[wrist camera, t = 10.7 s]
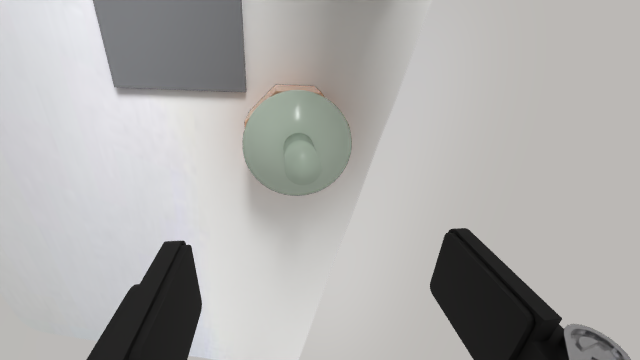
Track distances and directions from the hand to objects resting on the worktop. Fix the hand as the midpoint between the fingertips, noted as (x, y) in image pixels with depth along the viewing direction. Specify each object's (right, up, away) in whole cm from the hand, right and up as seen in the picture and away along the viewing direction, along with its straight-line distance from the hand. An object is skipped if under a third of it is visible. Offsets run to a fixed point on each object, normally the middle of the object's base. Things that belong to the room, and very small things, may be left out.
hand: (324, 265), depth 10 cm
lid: (-2, +7, +16) cm, 17 cm away
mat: (-13, +18, +15) cm, 26 cm away
